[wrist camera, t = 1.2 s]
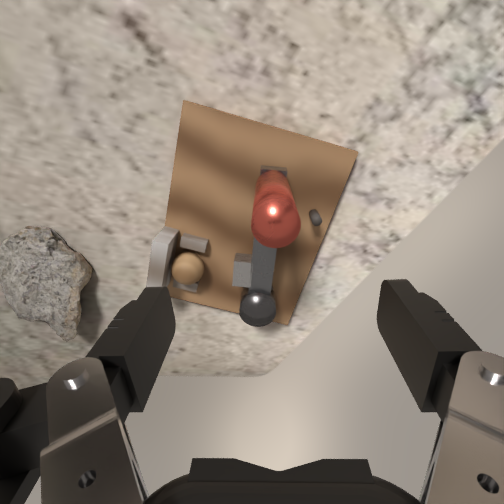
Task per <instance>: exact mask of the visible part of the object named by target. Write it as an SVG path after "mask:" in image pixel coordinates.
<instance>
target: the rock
mask: <svg viewBox="0 0 504 504" xmlns="http://www.w3.org/2000/svg"><path fill="white" fill-rule="evenodd" d="M92 271H93V270H92V267H91V265H89V264H88V263H87V261H86V260H85V258H84V257H83V256H82V255H81V254H80V253H78V252H74V251H72V250H71V249H70V248H69V247H68V246H67V245H66V243H65V241H64V239H63V238H61V237H60V236H59V234H57V233H56V232H55V231H53V230H52V229H51V228H47V227H40V226H27V227H25V228H23V229H22V230H21V231H19V232H18V233H16V234H15V235H10V236H9V237H8V238H7V239H6V240H4V242H3V243H2V244H1V245H0V284H1V286H2V290H3V293H4V294H5V298H6V299H7V301H8V303H9V305H11V307H12V309H13V310H14V311H15V313H16V314H17V316H18V318H19V319H25V320H27V321H35V320H42V321H46V322H47V323H48V324H49V325H50V327H51V328H52V329H53V330H54V331H56V334H57V335H59V336H60V337H61V338H62V339H63V340H64V341H66V342H67V341H69V340H70V339H74V338H75V336H76V335H77V331H76V328H77V326H78V324H79V322H80V318H81V304H80V293H81V290H82V289H83V287H84V286H85V285H86V284H87V283H88V282H89V280H90V278H91V273H92Z"/></svg>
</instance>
